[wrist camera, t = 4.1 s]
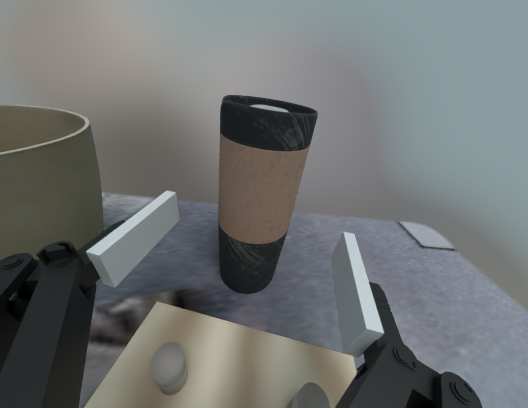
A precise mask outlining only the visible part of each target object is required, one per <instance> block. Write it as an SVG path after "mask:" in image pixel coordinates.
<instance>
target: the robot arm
mask: <svg viewBox="0 0 528 408" xmlns="http://www.w3.org/2000/svg"><path fill="white" fill-rule="evenodd" d="M179 220H180V219H179V212H178V205H177V197H176V193H175V192H170V191H166V192H164V193H163V194H162V195H160V196H159V197H158V198H156V199H155V200H154V201H153V202H151V203H150V204H149V205H147V206H146V207H145V208H143V209H142V210H141V211H139V212H138V213H137V214H135V215H134V216H133V217H131V218H130V219H129V220H127V221H124V220H122V221H120V222H118V223H115V224H113V225H112V226H111V227H109V228H108V229H106V231H104V232H102V233H101V234H100V235H98V236H97V237H95V238H94V239H93V240H91V241H90V242H88V243H87V244H86V245H84V246H83V247H81V248H80V249H79V250H76V249H75V247H74V245H73V244H72V243H71V242H69V241H59V242H55V243H52V244H49V245H47V246H45V247H44V248H42V249H41V250H39V252H38V253H37V254H36V255H37V256H38V258H39V259H40V260H35V259H34V258H33V256H32V255H31V254H29V253H19V254H14V255H11V256H8V257H6V258H4V259H2V260H0V408H78V406H79V399H80V392H81V386H82V379H83V372H84V366H85V359H86V352H87V346H88V339H89V332H90V326H91V319H92V313H93V306H94V299H95V293H96V283H95V282H96V281H97V280H98V279H101V281H102V282H103V284H105V285H108V286H112V287H116V286H117V285H118V284H119V283H120V282H121V281H122V280H123V279H124V278H125V277H126V276H127V275H128V274H129V273H130V272H131V271H132V269H133V268H134V267H135V266H136V265H137V264H138V263H139V262H140V261H141V260H142V259H143V258H144V257H145V256H146V255H147V254H148V253H149V252H150V251H151V249H152V248H153V247H154V246H155V245H156V244H157V243H158V242H159V241H160V240H161V239H162V238H163V237H164V236H165V235H166V234H167V233H168V232H169V231H170V229H171V228H172V227H173V226H174V225H175V224H176V223H177V222H178V221H179ZM331 261H332V269H333V277H334V284H335V292H336V300H337V307H338V315H339V323H340V331H341V338H342V346H343V353H345V354H348V355H352V356H355V357H359V356H360V355H362V354H364V359H365V363H363V364H362V365H361V366H360V367H359V368H358V369H357V370H358V372H357V374H356V376H355V377H354V379H353V380H352V382H351V383H350V385H349V386H348V388H347V389H346V391H345V393H344V394H343V396H342V397H341V399H340V400H339V402H338V403H337V405H336V407H335V408H482V405H481V402H480V399H479V398H478V396H477V395H476V393H475V391H474V390H473V389H472V388H471V387H470V385H469V384H468V383H467V382H466V381H464V380H463V379H462V378H461V377H460V376H458V375H456V374H454V373H452V372H444V373H442V374H439V373H438V372H436V371H434V370H433V369H431V368H429V367H428V366H426V365H424V364H423V363H421V362H420V361H418V360H417V359H416V357H415V355H414V354H413V352H412V351H411V350H410V349H409V348H408V347H407V346H406V345H404V344H403V342H402V339H401V337H400V334H399V331H398V328H397V326H396V323H395V320H394V317H393V315H392V312H391V311H390V310H391V309H390V307H389V304H388V301H387V298H386V296H385V293H384V292H383V290H382V289H381V287H380V286H379V285H378V284H375V283H371V282H369V281H368V278H367V275H366V272H365V268H364V265H363V262H362V258H361V255H360V252H359V249H358V245H357V242H356V239H355V235H354V234H351V233H347V232H343V234H342V236H341V238H340V240H339V242H338V244H337V246H336V248H335V250H334V252H333V254H332V256H331ZM13 294H14V295H15V296H14V297H13V298H12V299H11V300H10V301H9V299H10V298H11V296H12V295H13Z"/></svg>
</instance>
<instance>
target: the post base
mask: <svg viewBox="0 0 528 408" xmlns="http://www.w3.org/2000/svg"><path fill="white" fill-rule="evenodd" d="M355 376H356V370H355V364H354V358H353V356H350V355H347V354H343V353H340V352H336V351H332V350H329V349H325V348H322V347H318V346H314V345H311V344H307V343H304V342H300V341H297V340H293V339H289V338H286V337H282V336H279V335H275V334H271V333H268V332H264V331H261V330H257V329H254V328H250V327H246V326H243V325H239V324H236V323H232V322H228V321H225V320H221V319H218V318H214V317H211V316H207V315H203V314H200V313H196V312H193V311H189V310H185V309H182V308H178V307H175V306H171V305H168V304H164V303H160V302H156V304H155V305H154V307H153V308H152V310H151V311H150V312H149V314H148V315H147V317H146V318H145V320H144V321H143V323H142V324H141V326H140V327H139V328H138V330H137V331H136V333H135V334H134V336H133V337H132V339H131V340H130V342H129V343H128V344H127V346H126V347H125V349H124V350H123V352H122V353H121V355H120V356H119V358H118V359H117V360H116V362H115V363H114V365H113V366H112V368H111V369H110V371H109V372H108V373H107V375H106V376H105V378H104V379H103V381H102V382H101V384H100V385H99V387H98V388H97V389H96V391H95V392H94V394H93V395H92V397H91V398H90V400H89V401H88V403H87V404H86V405H85V407H84V408H335V407H336V405H337V403H338V402H339V400H340V399H341V397H342V396H343V394H344V393H345V391H346V389H347V388H348V386H349V385H350V383H351V382H352V380H353V379H354V377H355Z"/></svg>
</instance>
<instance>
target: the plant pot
mask: <svg viewBox="0 0 528 408" xmlns="http://www.w3.org/2000/svg"><path fill="white" fill-rule="evenodd" d="M102 230H103V207H102V192H101V181H100V174H99V167H98V161H97V156H96V151H95V146H94V140H93V136H92V131H91V126H90V123H89V120H88V119H87V118H86V117H84V116H82V115H80V114H77V113H74V112H70V111H65V110H61V109H54V108H47V107H38V106H27V105H12V104H0V260H2V259H4V258H6V257H8V256H11V255H14V254H19V253H29V254H31V255H32V256H33V258H34V259H35V260H40V259H39V258H38V256H37V255H36V254H37V253H38V252H39V250H41V249H42V248H44V247H45V246H47V245H49V244H52V243H55V242H59V241H69V242H71V243H72V244H73V245H74V247H75V249H76V250H79V249H80V248H81V247H83V246H84V245H86V244H87V243H88V242H90V241H91V240H93V239H94V238H95V237H97V236H98V235H100V234H101V233H102ZM13 295H14V294H13Z"/></svg>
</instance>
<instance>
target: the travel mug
mask: <svg viewBox="0 0 528 408" xmlns="http://www.w3.org/2000/svg"><path fill="white" fill-rule="evenodd" d="M317 115H318V113H317V111H315V110H314V109H311V108H309V107H305V106H302V105H297V104H293V103H289V102H284V101H279V100H273V99H267V98H260V97H252V96H241V95H227V96H225V97H224V98H223V100H222V105H221V114H220V161H219V163H220V164H219V210H218V225H219V255H220V273H221V277H222V279H223V281H224V282H225V284H226V285H227V286H228V287H229V288H231V289H232V290H234V291H237V292H240V293H255V292H258V291H260V290H262V289H264V288H265V287H266V286H267V285H268V284H269V283H270V281H271V279H272V277H273V274H274V271H275V268H276V265H277V262H278V259H279V256H280V252H281V249H282V246H283V243H284V240H285V237H286V234H287V230H288V227H289V223H290V219H291V216H292V212H293V207H294V204H295V200H296V196H297V193H298V188H299V185H300V181H301V177H302V173H303V170H304V166H305V162H306V158H307V154H308V150H309V147H310V143H311V139H312V135H313V131H314V127H315V124H316V120H317Z"/></svg>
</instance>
